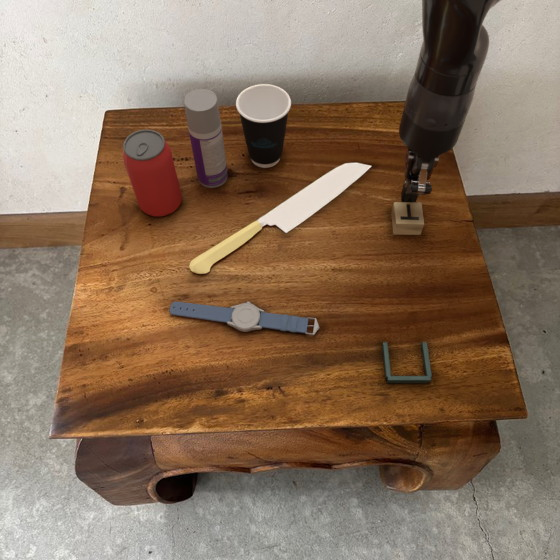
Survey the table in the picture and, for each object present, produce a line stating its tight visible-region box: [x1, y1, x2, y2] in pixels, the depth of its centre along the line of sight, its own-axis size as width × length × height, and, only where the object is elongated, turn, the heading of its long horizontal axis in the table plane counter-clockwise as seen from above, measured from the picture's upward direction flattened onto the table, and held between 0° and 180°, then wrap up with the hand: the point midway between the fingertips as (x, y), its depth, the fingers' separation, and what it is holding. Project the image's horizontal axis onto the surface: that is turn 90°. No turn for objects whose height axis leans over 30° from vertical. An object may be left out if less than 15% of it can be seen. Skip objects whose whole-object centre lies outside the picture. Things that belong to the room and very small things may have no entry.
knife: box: [188, 162, 372, 275], centre depth 81 cm, size 1×34×5 cm
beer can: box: [122, 128, 183, 217], centre depth 78 cm, size 7×7×12 cm
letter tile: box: [390, 201, 425, 236], centre depth 80 cm, size 4×4×3 cm
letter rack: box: [381, 341, 433, 384], centre depth 69 cm, size 5×6×1 cm
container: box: [183, 88, 229, 189], centre depth 79 cm, size 5×5×15 cm
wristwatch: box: [169, 301, 321, 336], centre depth 72 cm, size 4×20×1 cm, turn 81°
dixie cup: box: [235, 83, 292, 169], centre depth 83 cm, size 8×8×11 cm
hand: (408, 198), depth 81 cm, fingers closed
